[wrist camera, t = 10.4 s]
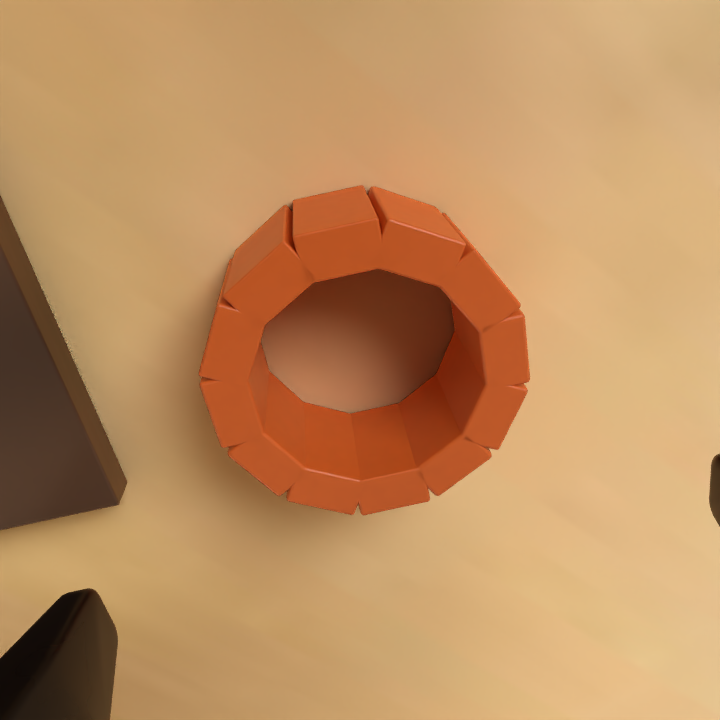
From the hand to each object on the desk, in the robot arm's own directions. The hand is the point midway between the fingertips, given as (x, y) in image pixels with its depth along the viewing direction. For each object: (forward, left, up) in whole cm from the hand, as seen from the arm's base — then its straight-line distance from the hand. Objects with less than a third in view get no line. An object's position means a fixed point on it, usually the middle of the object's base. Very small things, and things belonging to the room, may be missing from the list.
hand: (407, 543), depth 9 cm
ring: (0, 0, -8) cm, 8 cm away
